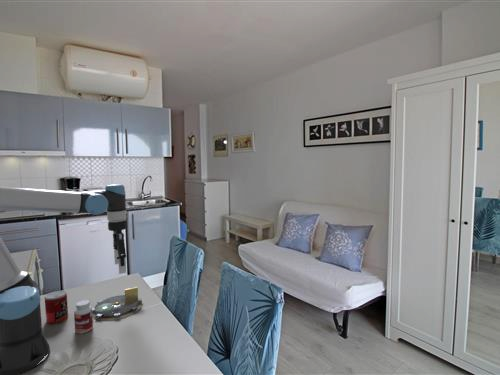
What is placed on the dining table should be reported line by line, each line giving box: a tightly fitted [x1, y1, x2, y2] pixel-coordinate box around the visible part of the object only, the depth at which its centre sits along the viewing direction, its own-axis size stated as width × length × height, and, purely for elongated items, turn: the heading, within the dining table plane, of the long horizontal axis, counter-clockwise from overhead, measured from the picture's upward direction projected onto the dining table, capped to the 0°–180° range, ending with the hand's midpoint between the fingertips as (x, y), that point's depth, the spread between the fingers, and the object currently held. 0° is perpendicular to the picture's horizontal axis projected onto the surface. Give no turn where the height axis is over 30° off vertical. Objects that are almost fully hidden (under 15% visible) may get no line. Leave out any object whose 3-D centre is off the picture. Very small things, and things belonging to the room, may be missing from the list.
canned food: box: [44, 290, 69, 325], centre depth 121 cm, size 8×8×11 cm
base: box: [92, 302, 143, 321], centre depth 131 cm, size 21×21×1 cm
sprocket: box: [92, 286, 143, 319], centre depth 130 cm, size 21×21×8 cm
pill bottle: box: [73, 299, 94, 334], centre depth 114 cm, size 6×6×11 cm
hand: (120, 268), depth 126 cm, fingers open, 13 cm apart
